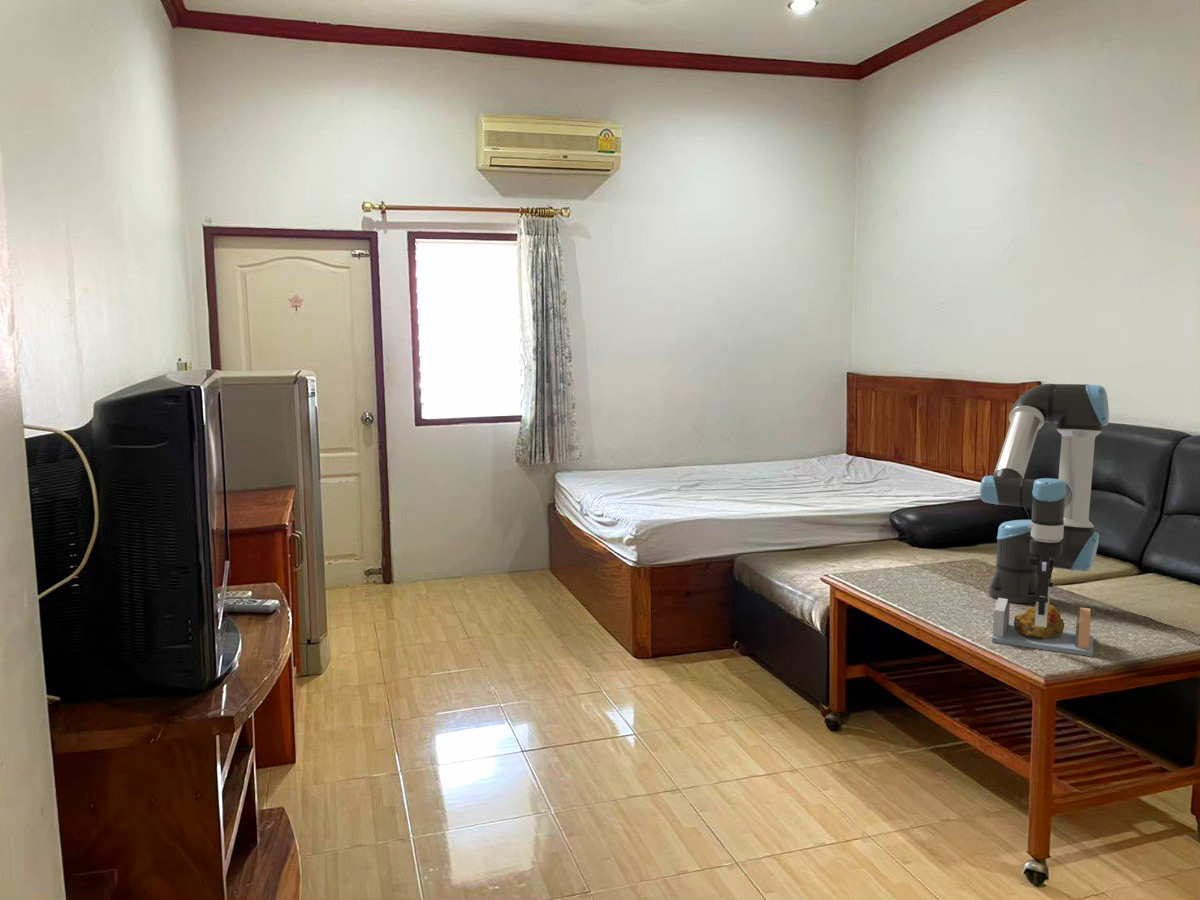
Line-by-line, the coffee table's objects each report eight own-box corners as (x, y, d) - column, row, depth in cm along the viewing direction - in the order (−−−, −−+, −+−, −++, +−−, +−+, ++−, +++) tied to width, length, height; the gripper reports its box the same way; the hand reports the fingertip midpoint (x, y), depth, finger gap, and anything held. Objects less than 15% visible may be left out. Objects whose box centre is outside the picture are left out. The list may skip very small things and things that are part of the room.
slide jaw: (1075, 632, 235) (1077, 607, 234) (1088, 634, 234) (1090, 608, 233) (1075, 647, 225) (1076, 620, 224) (1088, 649, 223) (1090, 621, 223)
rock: (1051, 656, 230) (1027, 630, 229) (1027, 650, 238) (1004, 625, 237) (1075, 623, 233) (1051, 597, 231) (1051, 618, 241) (1028, 593, 239)
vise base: (997, 625, 246) (998, 596, 245) (1092, 638, 235) (1094, 608, 234) (992, 642, 233) (993, 611, 232) (1092, 656, 222) (1095, 624, 221)
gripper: (1033, 527, 243) (1028, 603, 246) (1027, 548, 221) (1022, 630, 224) (1064, 530, 240) (1059, 606, 243) (1061, 551, 218) (1056, 635, 221)
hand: (1041, 618), depth 234 cm, fingers open, 13 cm apart
